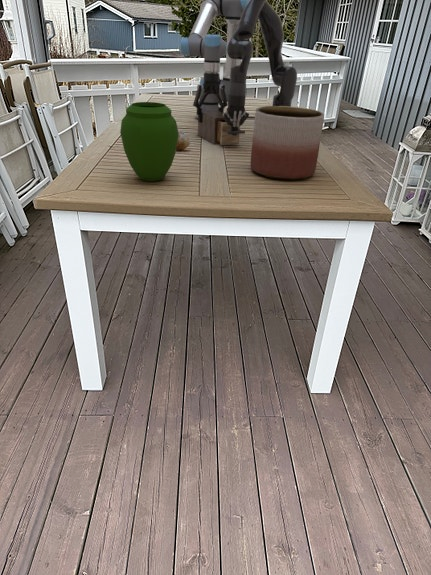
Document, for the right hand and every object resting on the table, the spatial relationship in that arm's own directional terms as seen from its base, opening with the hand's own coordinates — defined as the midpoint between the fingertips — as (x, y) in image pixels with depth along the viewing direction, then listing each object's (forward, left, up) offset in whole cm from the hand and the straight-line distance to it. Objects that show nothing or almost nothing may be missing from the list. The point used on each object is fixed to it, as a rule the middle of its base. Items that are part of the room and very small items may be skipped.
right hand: (234, 135), depth 186 cm
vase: (+42, +41, -6) cm, 59 cm away
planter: (-9, +38, -6) cm, 39 cm away
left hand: (+5, -27, +1) cm, 27 cm away
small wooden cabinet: (+4, -20, -6) cm, 21 cm away
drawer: (+2, -10, -5) cm, 11 cm away
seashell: (+26, +1, -6) cm, 26 cm away
